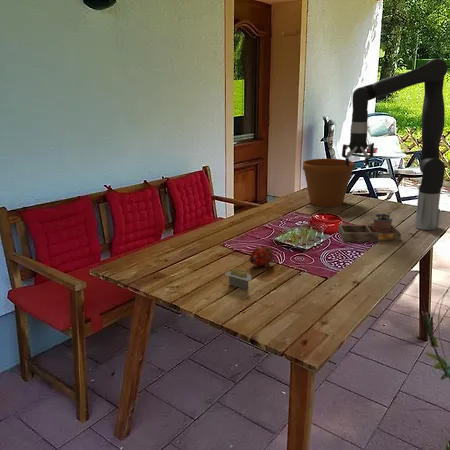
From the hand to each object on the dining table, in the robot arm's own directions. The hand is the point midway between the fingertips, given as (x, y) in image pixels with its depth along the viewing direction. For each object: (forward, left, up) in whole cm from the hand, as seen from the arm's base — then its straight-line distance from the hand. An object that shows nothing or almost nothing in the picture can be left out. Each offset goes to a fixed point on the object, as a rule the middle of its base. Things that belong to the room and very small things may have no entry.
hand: (356, 166), depth 216 cm
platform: (+52, +77, -29) cm, 97 cm away
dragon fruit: (+45, +58, -28) cm, 79 cm away
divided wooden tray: (-2, +22, -28) cm, 36 cm away
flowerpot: (+8, -40, -28) cm, 50 cm away
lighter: (-8, +22, -28) cm, 36 cm away
